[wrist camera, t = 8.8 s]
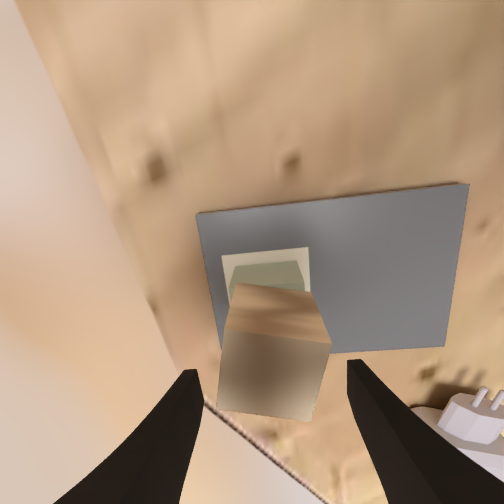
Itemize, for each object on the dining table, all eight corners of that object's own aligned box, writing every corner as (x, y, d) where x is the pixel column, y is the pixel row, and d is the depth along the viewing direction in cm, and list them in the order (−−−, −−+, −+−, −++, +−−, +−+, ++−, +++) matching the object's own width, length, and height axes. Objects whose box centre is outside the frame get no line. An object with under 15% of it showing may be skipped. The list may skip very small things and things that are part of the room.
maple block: (311, 292, 16) (332, 343, 11) (297, 353, 17) (310, 421, 13) (236, 282, 16) (223, 329, 11) (229, 344, 17) (215, 409, 13)
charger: (517, 375, 23) (450, 474, 28) (425, 359, 23) (373, 460, 28) (577, 424, 19) (485, 531, 24) (463, 403, 19) (394, 515, 24)
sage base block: (296, 260, 19) (304, 281, 15) (299, 314, 21) (307, 345, 17) (235, 266, 20) (228, 288, 16) (243, 318, 21) (238, 350, 17)
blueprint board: (458, 183, 18) (470, 183, 17) (436, 338, 22) (445, 347, 21) (198, 212, 20) (195, 215, 19) (224, 352, 24) (223, 361, 23)
